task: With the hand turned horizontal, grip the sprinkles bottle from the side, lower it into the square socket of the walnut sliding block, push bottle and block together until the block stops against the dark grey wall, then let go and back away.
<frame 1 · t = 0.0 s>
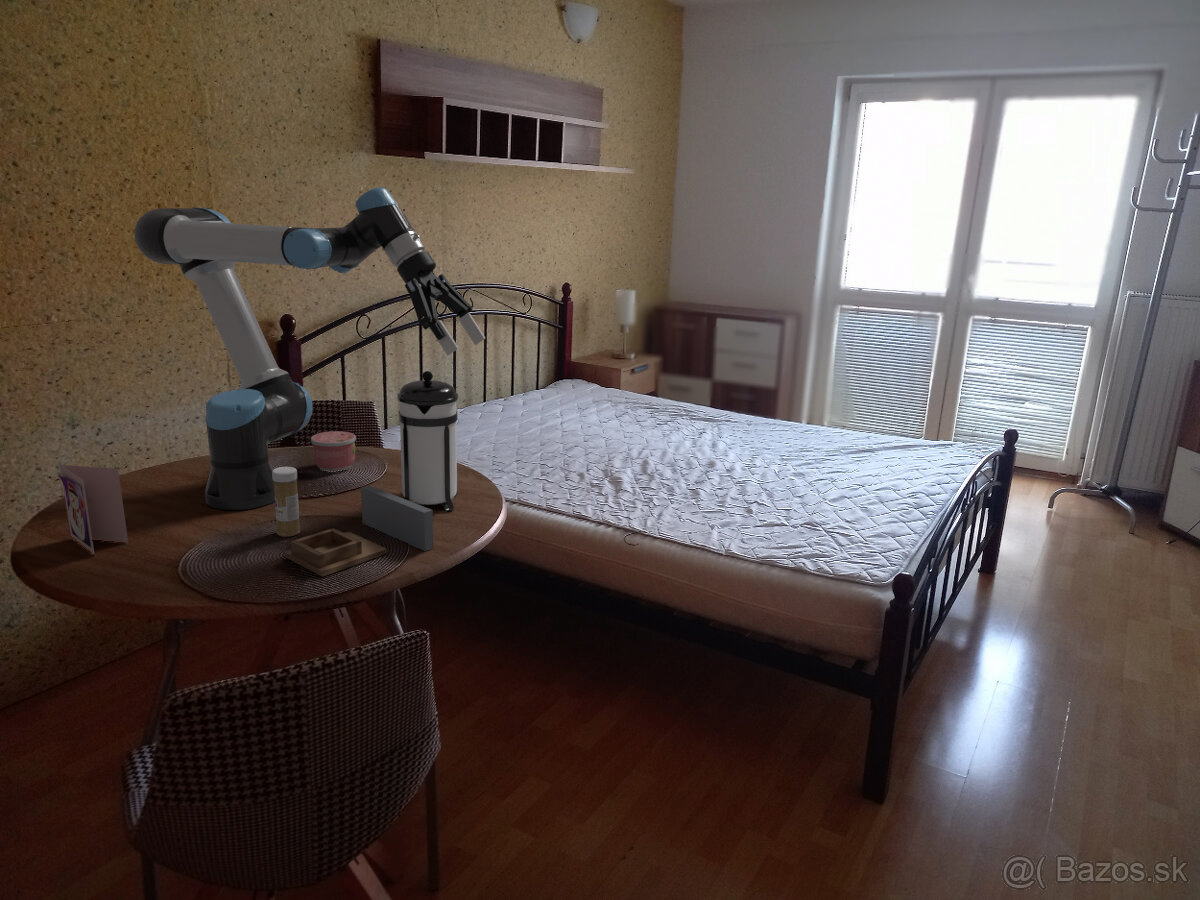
hand: (467, 346, 173), 36 cm above the table, tool tilted 35°, fingers open, 13 cm apart
sprinkles bottle: (288, 534, 166), on the table
socket block: (336, 546, 156), point 2 cm above the table, slide at 0.0 cm
coffee press: (428, 501, 186), on the table
container: (335, 468, 205), on the table
backstop wall: (396, 535, 167), on the table
greeting card: (99, 544, 157), on the table
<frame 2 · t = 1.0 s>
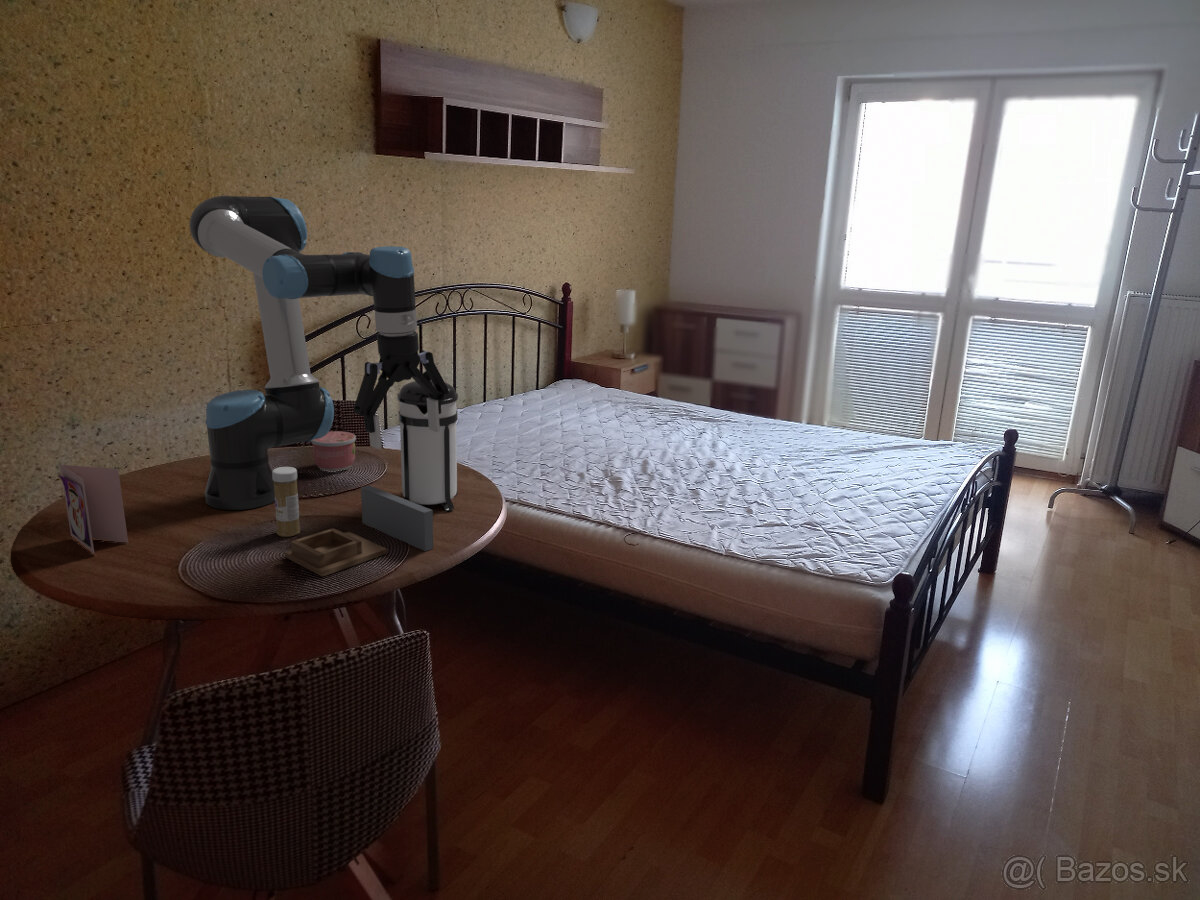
hand: (406, 438, 162), 20 cm above the table, tool pointing down, fingers open, 13 cm apart
nothing on the table moved.
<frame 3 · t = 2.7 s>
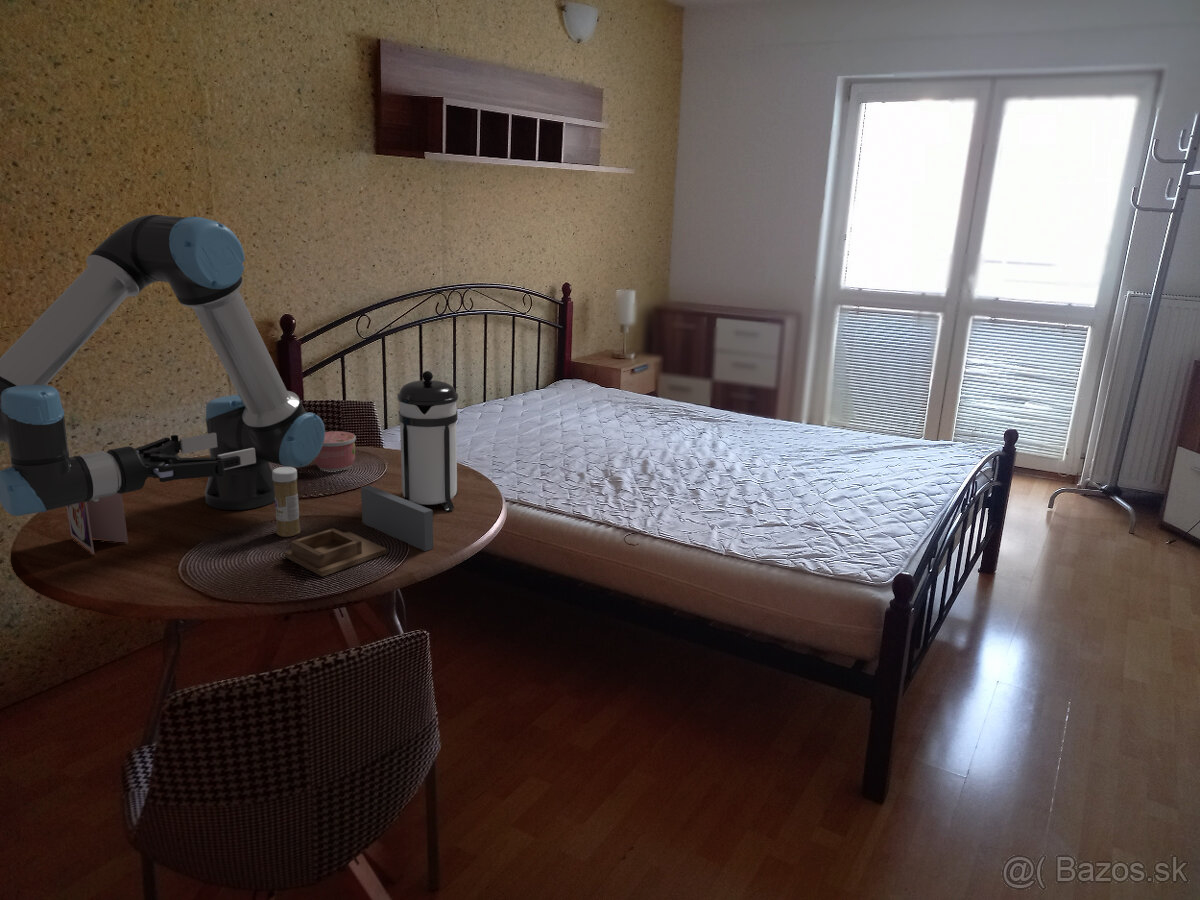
hand: (234, 447, 152), 20 cm above the table, tool horizontal, fingers open, 13 cm apart
nothing on the table moved.
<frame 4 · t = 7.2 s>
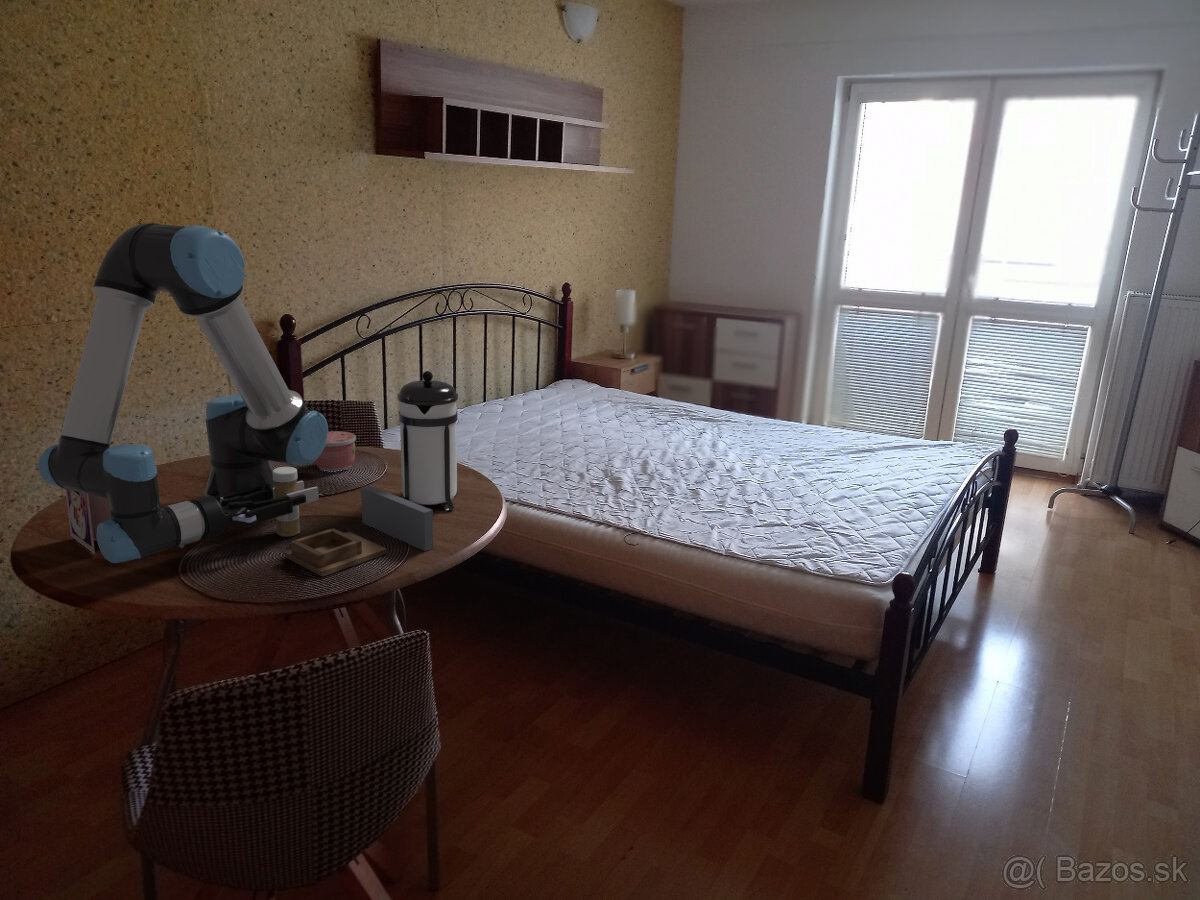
hand: (310, 490, 167), 8 cm above the table, tool horizontal, fingers closed on sprinkles bottle, 4 cm apart
sprinkles bottle: (288, 534, 166), on the table, touching gripper
greeting card: (99, 543, 157), on the table, touching arm
everything else where it was.
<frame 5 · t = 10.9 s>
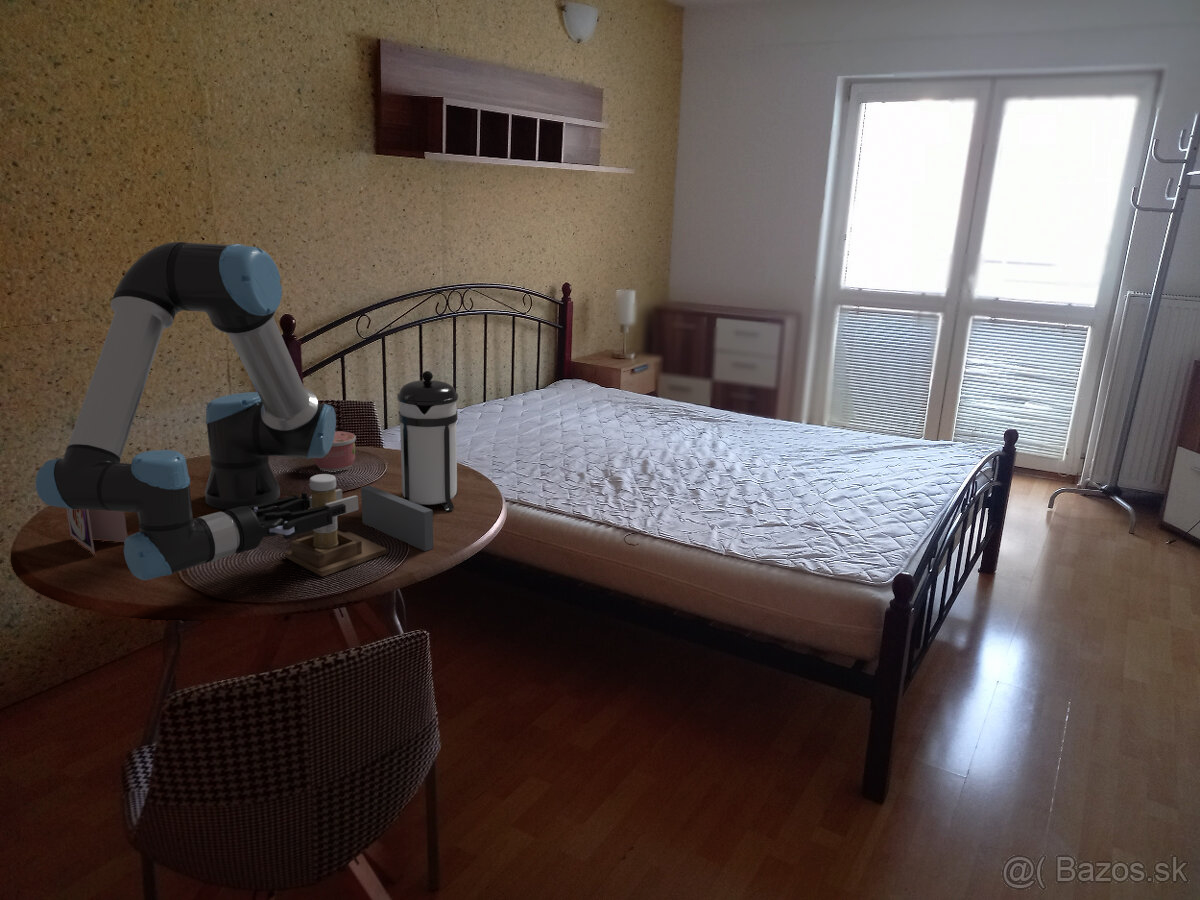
hand: (348, 499, 155), 11 cm above the table, tool horizontal, fingers closed on sprinkles bottle, 4 cm apart
sprinkles bottle: (326, 546, 154), point 3 cm above the table, touching gripper
greeting card: (99, 544, 157), on the table
everything else where it was.
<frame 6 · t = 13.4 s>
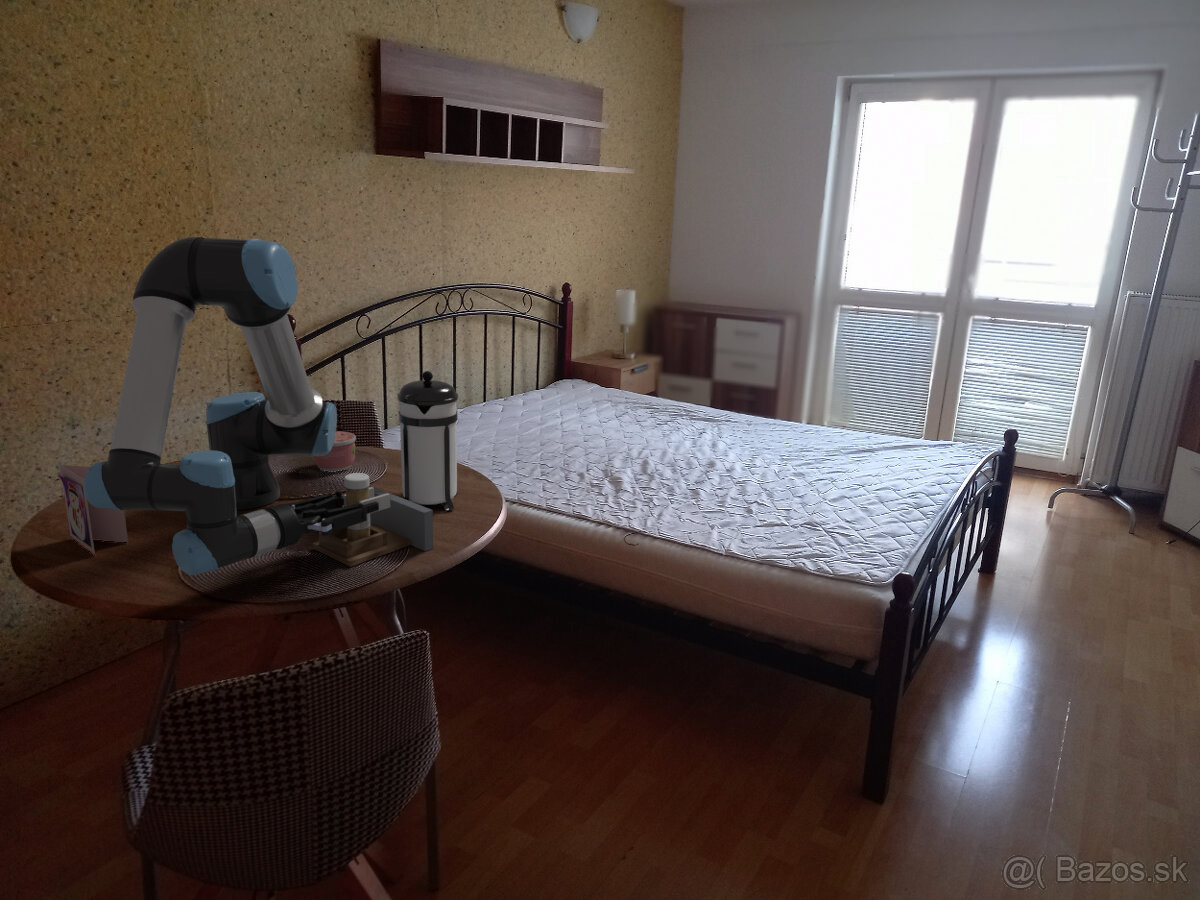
hand: (380, 497, 161), 9 cm above the table, tool horizontal, fingers closed on sprinkles bottle, 4 cm apart
sprinkles bottle: (359, 542, 160), point 1 cm above the table, touching gripper, socket block
socket block: (362, 538, 160), point 2 cm above the table, slide at 5.8 cm, touching sprinkles bottle
everything else where it was.
when the fingers open (9 cm above the table, at t = 14.4 s): sprinkles bottle stays where it is, resting on socket block.
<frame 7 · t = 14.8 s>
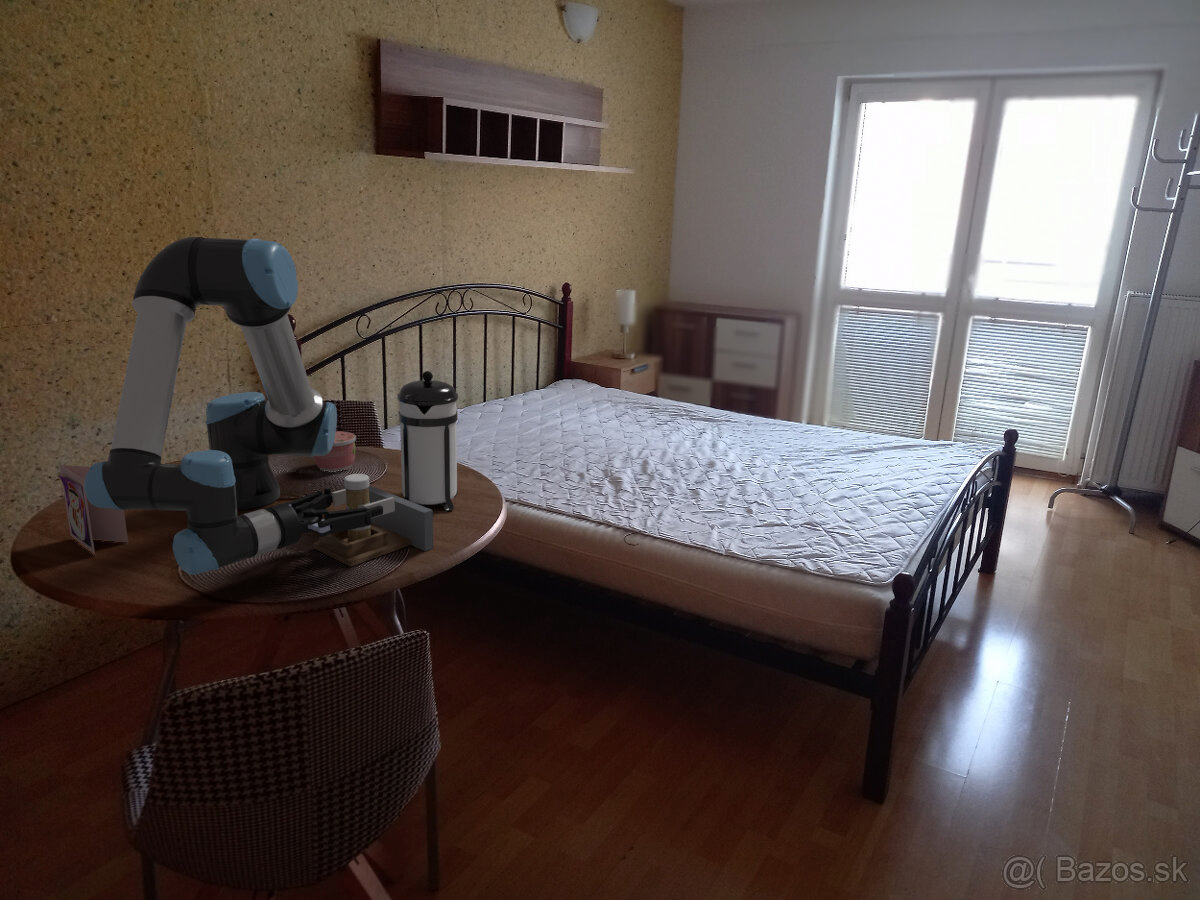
hand: (377, 497, 161), 9 cm above the table, tool horizontal, fingers open, 9 cm apart
sprinkles bottle: (359, 543, 160), point 1 cm above the table, touching socket block
everything else where it was.
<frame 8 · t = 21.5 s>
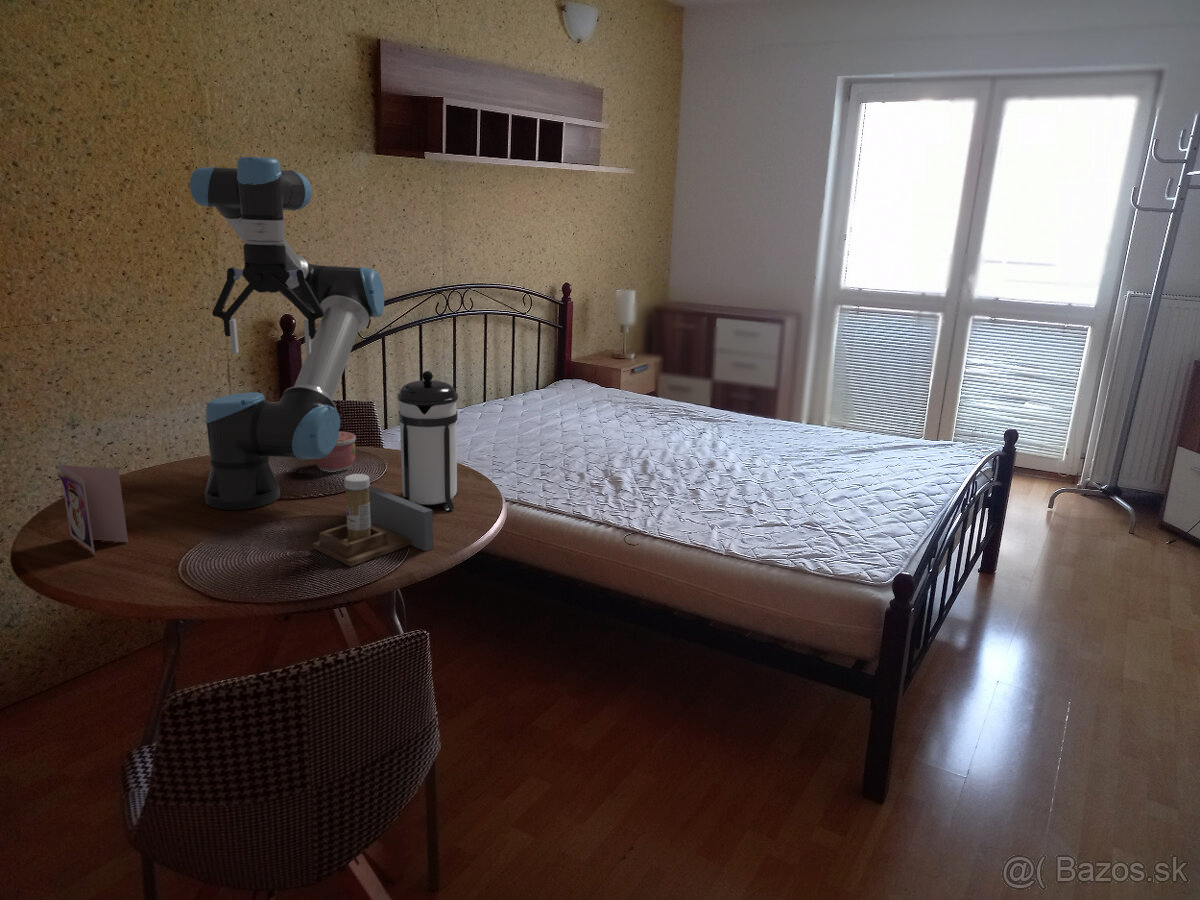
hand: (272, 353, 164), 35 cm above the table, tool pointing down, fingers open, 13 cm apart
nothing on the table moved.
at the end: socket block slide at 5.9 cm; sprinkles bottle touching socket block; sprinkles bottle tilted 0° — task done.
